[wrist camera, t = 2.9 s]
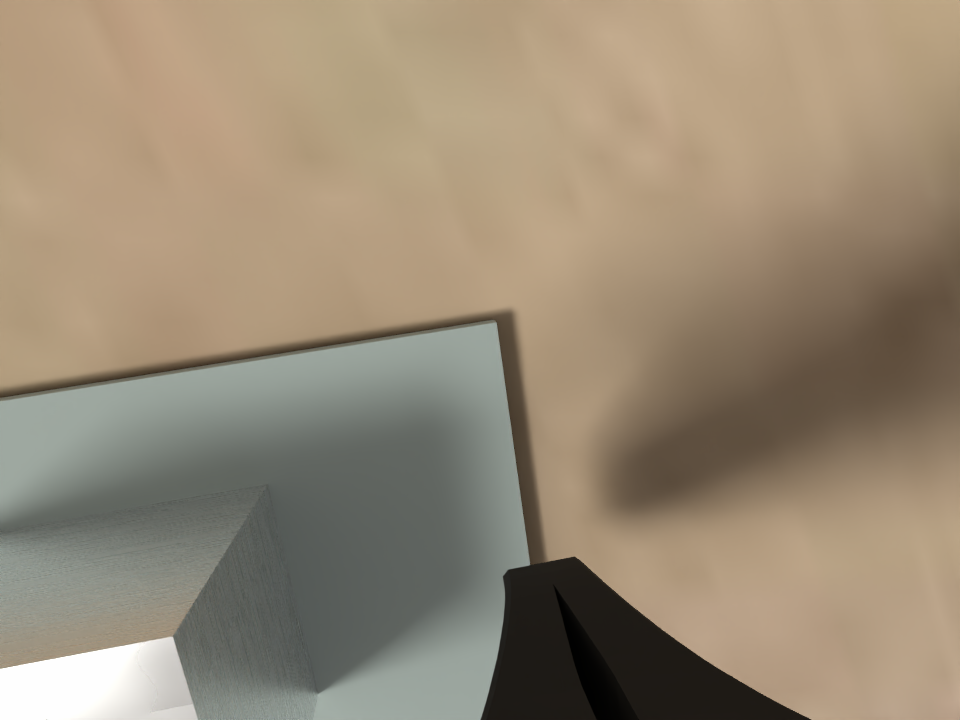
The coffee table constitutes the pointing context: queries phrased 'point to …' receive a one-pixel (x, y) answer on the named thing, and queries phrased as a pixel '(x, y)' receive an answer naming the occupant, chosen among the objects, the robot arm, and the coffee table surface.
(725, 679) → the robot arm
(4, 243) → the coffee table surface
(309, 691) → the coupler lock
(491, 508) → the mat
